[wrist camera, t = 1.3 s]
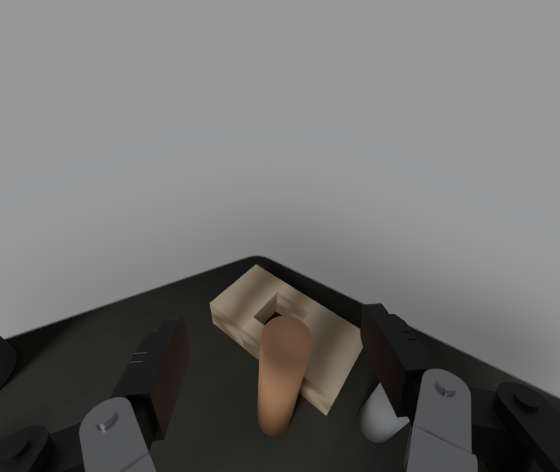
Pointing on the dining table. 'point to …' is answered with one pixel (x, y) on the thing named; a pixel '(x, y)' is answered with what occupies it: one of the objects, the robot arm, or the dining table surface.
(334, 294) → the dining table surface
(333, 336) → the wooden block with hole
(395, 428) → the short dowel
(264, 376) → the long dowel
